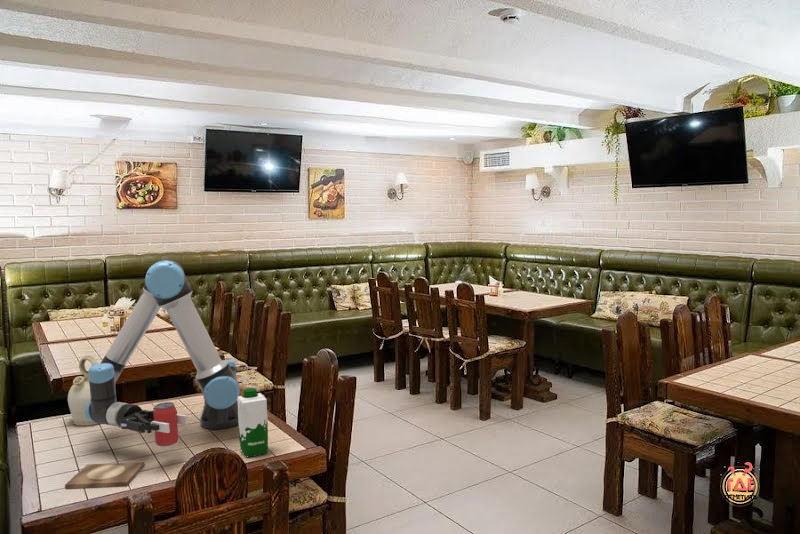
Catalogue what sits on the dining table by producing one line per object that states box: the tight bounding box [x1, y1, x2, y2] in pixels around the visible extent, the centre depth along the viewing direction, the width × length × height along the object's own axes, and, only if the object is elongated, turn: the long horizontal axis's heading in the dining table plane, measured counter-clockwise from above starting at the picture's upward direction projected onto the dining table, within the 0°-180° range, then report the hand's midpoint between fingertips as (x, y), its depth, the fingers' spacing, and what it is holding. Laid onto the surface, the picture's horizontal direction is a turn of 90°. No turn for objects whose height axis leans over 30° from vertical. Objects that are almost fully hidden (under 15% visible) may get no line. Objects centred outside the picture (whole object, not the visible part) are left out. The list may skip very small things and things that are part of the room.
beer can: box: [153, 401, 179, 447], centre depth 184 cm, size 7×7×12 cm
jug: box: [67, 355, 99, 427], centre depth 226 cm, size 15×16×25 cm
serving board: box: [64, 461, 145, 490], centre depth 177 cm, size 17×14×2 cm
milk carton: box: [237, 387, 269, 458], centre depth 192 cm, size 9×9×20 cm
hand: (177, 424), depth 182 cm, fingers closed on beer can, 7 cm apart
